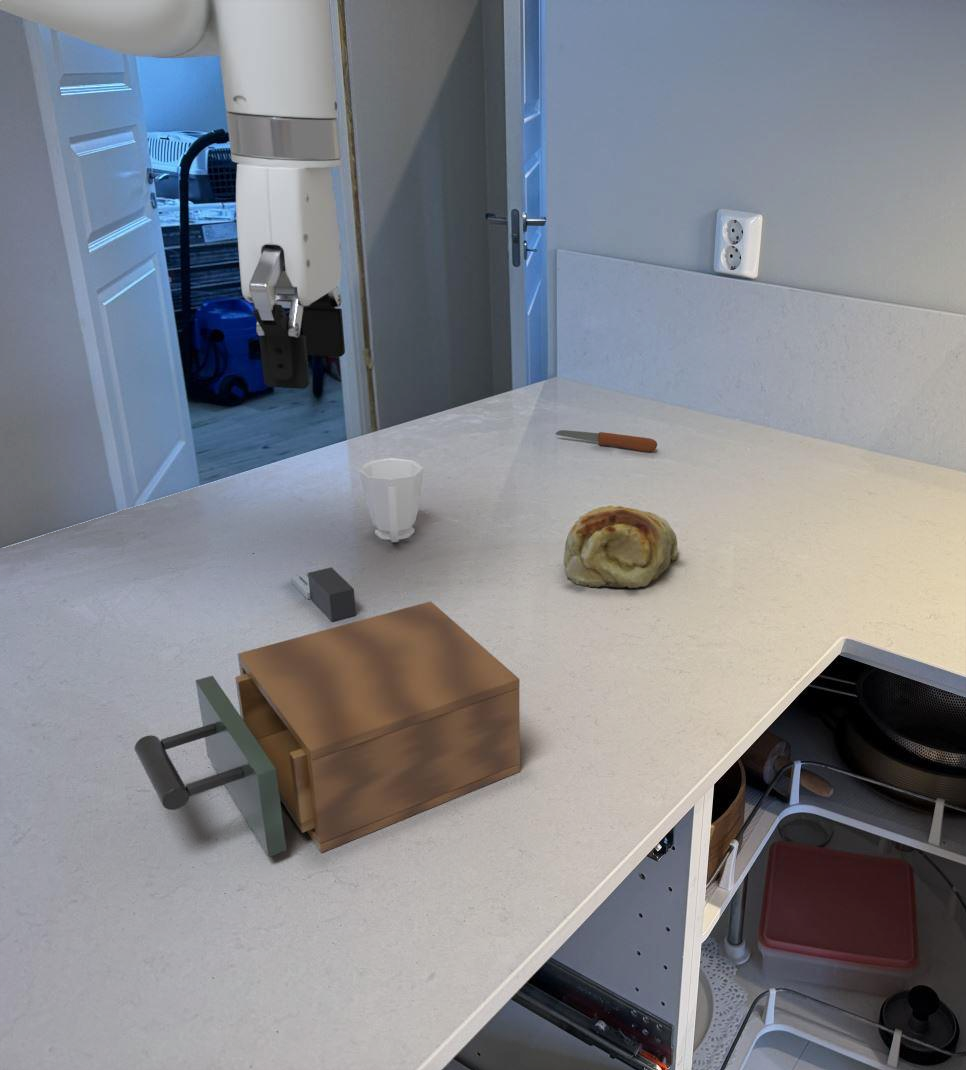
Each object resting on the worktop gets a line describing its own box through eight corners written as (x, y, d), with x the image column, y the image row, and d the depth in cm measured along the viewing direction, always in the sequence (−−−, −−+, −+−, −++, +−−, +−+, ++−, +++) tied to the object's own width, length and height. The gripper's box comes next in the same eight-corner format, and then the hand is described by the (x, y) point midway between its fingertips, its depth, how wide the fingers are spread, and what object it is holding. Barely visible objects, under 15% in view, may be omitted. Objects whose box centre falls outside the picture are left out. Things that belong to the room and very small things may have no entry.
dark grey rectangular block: (359, 614, 98) (356, 587, 97) (328, 623, 96) (326, 595, 95) (320, 576, 105) (318, 550, 103) (291, 583, 103) (288, 557, 101)
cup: (425, 519, 120) (422, 456, 116) (428, 554, 111) (425, 488, 108) (363, 522, 118) (359, 458, 114) (362, 558, 109) (357, 490, 106)
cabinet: (321, 853, 68) (309, 750, 65) (250, 747, 78) (237, 653, 74) (520, 771, 78) (519, 678, 74) (434, 686, 87) (431, 600, 84)
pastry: (580, 600, 104) (582, 531, 101) (546, 551, 114) (547, 487, 111) (702, 583, 110) (707, 517, 107) (659, 538, 120) (663, 476, 117)
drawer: (187, 890, 63) (171, 804, 60) (133, 780, 72) (118, 701, 69) (466, 778, 75) (463, 703, 72) (390, 696, 84) (385, 626, 81)
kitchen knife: (657, 451, 149) (658, 438, 148) (655, 454, 148) (656, 441, 147) (556, 437, 151) (556, 425, 150) (553, 440, 150) (553, 428, 149)
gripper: (273, 133, 80) (294, 342, 87) (182, 145, 65) (217, 398, 72) (367, 140, 81) (381, 347, 88) (301, 153, 65) (323, 404, 72)
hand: (307, 370), depth 80 cm, fingers open, 9 cm apart
